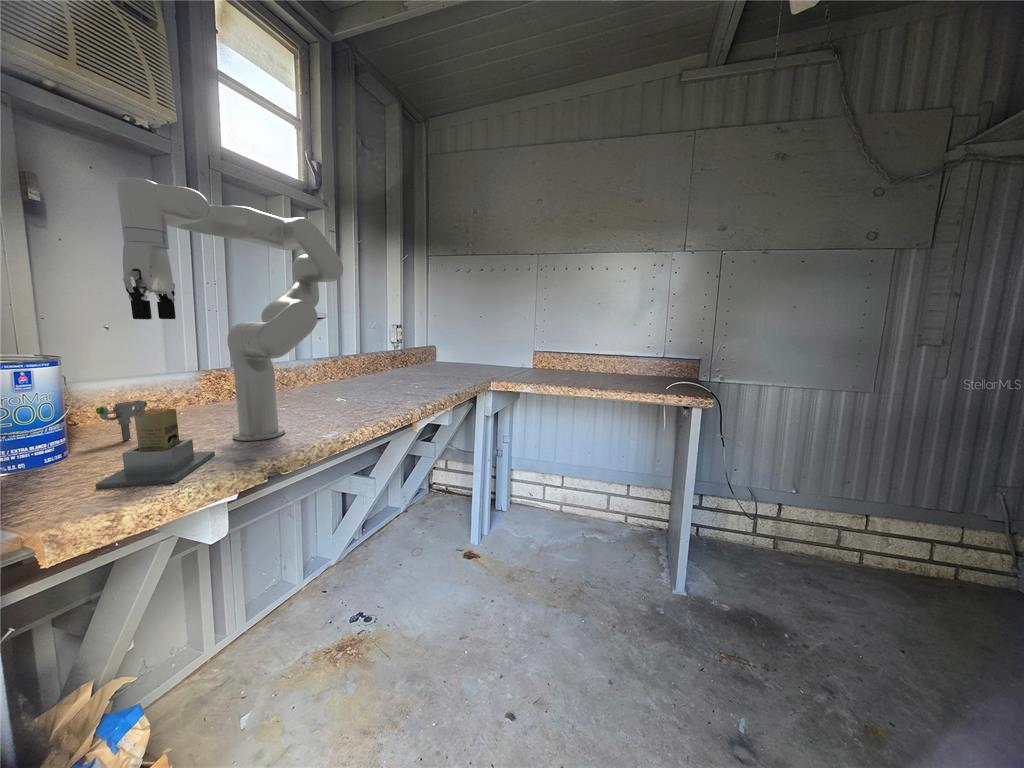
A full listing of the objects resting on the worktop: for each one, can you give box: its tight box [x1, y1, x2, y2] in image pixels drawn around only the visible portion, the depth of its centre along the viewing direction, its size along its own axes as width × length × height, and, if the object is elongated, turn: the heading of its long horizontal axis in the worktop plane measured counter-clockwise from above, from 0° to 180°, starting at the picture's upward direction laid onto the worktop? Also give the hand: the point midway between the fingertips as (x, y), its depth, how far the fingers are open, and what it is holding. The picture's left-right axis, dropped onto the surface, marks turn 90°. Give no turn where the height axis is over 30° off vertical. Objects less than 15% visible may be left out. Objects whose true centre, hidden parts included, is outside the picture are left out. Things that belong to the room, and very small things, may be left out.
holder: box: [94, 438, 216, 490], centre depth 90 cm, size 18×13×6 cm
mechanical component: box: [95, 399, 148, 441], centre depth 110 cm, size 3×10×10 cm, turn 160°
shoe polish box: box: [134, 408, 180, 451], centre depth 89 cm, size 5×5×12 cm
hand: (155, 319), depth 94 cm, fingers open, 9 cm apart
